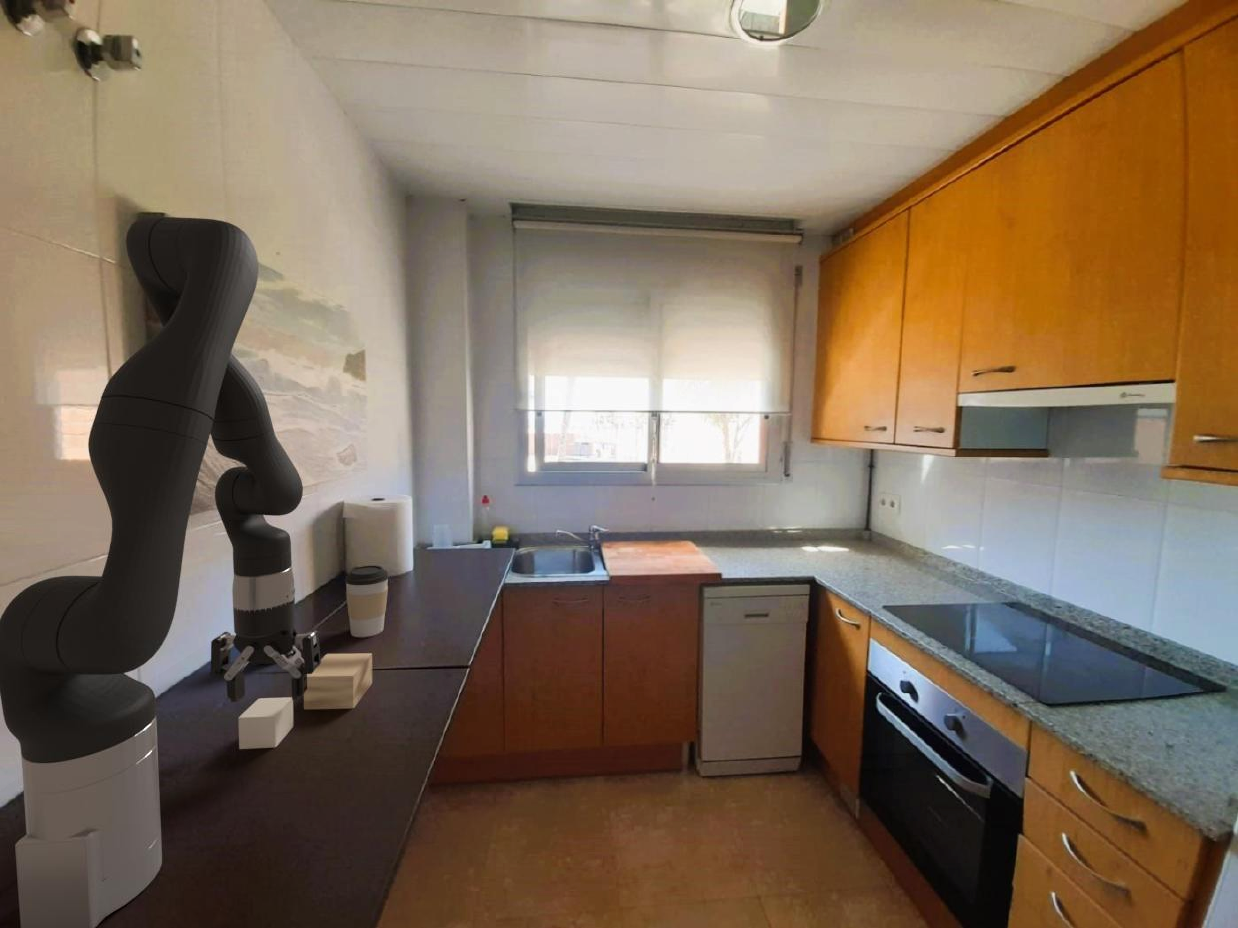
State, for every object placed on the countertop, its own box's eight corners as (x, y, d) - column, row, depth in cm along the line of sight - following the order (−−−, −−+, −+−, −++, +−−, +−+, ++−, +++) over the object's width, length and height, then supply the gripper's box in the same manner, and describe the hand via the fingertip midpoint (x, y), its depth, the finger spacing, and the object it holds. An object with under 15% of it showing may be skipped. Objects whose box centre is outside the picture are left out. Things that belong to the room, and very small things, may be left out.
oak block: (353, 709, 83) (353, 675, 82) (304, 710, 82) (303, 676, 81) (372, 683, 90) (372, 653, 90) (327, 684, 90) (326, 653, 89)
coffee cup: (395, 623, 117) (395, 562, 115) (378, 639, 108) (378, 574, 106) (357, 622, 116) (357, 561, 115) (337, 638, 107) (336, 573, 106)
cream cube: (275, 747, 72) (275, 716, 72) (239, 749, 72) (238, 717, 71) (293, 726, 77) (292, 697, 77) (259, 728, 76) (258, 698, 76)
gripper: (194, 608, 68) (200, 715, 70) (302, 607, 70) (306, 711, 72) (229, 589, 75) (233, 686, 77) (326, 588, 77) (329, 682, 79)
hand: (268, 698), depth 74 cm, fingers open, 8 cm apart
